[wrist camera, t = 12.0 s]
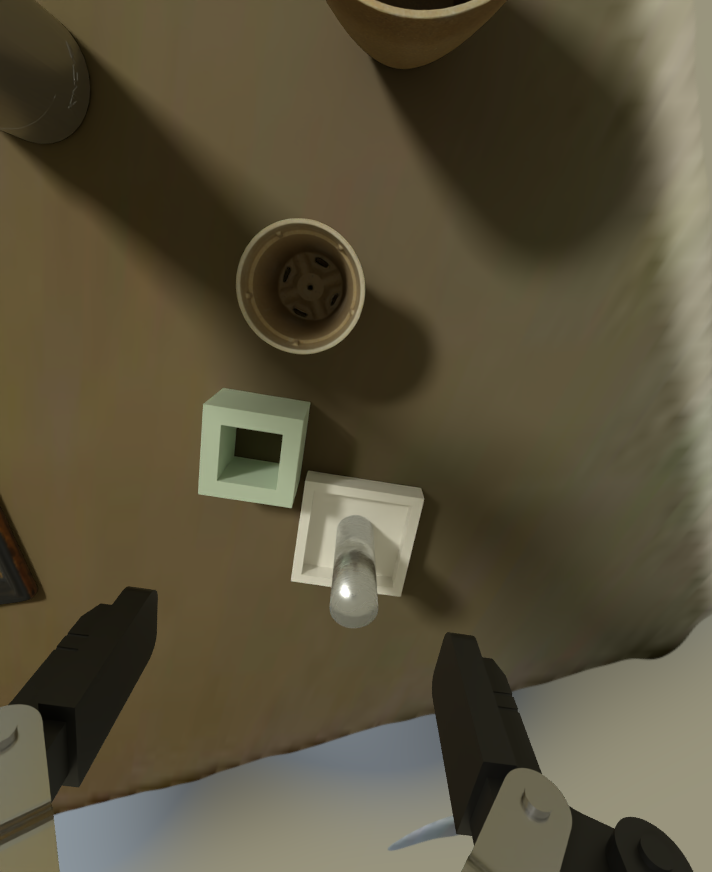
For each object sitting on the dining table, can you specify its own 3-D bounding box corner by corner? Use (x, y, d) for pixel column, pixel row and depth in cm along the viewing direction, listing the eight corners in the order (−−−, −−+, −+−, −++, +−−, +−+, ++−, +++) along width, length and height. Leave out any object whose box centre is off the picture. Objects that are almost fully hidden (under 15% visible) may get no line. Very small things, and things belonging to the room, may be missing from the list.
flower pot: (366, 233, 39) (368, 221, 31) (361, 342, 43) (362, 357, 34) (258, 227, 39) (232, 214, 31) (261, 337, 42) (238, 351, 34)
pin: (333, 544, 49) (326, 624, 38) (339, 512, 48) (333, 585, 36) (370, 550, 49) (373, 631, 38) (376, 518, 48) (382, 592, 37)
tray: (294, 567, 51) (290, 581, 48) (308, 470, 47) (305, 480, 45) (398, 582, 51) (400, 596, 49) (421, 488, 47) (424, 499, 45)
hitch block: (217, 467, 47) (198, 494, 41) (223, 387, 44) (203, 404, 38) (299, 480, 47) (291, 508, 42) (310, 402, 44) (303, 420, 39)
